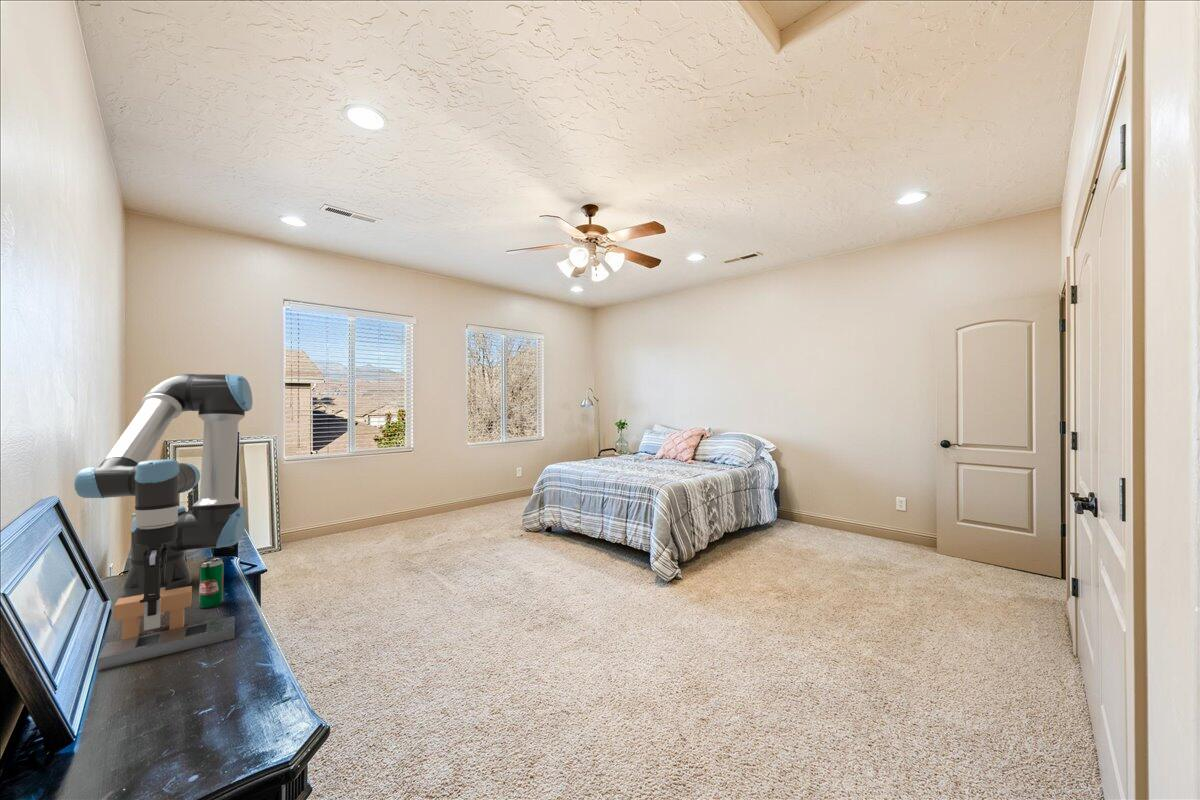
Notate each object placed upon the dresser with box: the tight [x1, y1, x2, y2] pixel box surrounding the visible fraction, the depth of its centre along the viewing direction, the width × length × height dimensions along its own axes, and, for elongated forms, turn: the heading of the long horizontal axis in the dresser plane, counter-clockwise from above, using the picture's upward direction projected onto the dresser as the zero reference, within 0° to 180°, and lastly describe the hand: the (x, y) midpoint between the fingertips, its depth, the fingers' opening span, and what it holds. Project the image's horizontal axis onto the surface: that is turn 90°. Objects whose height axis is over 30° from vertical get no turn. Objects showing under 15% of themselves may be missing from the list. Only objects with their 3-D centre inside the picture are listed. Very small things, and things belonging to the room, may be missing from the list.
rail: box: [96, 615, 236, 672], centre depth 106 cm, size 8×22×2 cm, turn 128°
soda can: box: [198, 557, 224, 609], centre depth 128 cm, size 5×5×12 cm
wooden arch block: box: [113, 585, 193, 640], centre depth 112 cm, size 5×13×9 cm, turn 128°
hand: (154, 621), depth 112 cm, fingers open, 8 cm apart
